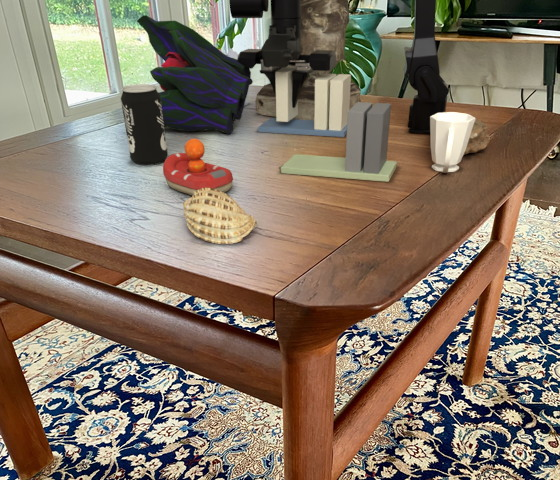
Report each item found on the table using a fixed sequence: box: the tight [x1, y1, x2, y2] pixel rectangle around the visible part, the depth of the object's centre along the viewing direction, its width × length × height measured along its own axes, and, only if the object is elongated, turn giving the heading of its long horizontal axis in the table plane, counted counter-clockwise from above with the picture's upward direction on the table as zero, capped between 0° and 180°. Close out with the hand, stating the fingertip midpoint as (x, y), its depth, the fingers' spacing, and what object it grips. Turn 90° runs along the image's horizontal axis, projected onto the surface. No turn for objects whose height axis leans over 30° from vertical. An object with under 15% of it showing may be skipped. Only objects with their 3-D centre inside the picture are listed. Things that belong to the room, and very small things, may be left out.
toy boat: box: [162, 138, 234, 197], centre depth 89 cm, size 8×12×8 cm, turn 47°
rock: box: [464, 117, 491, 155], centre depth 104 cm, size 13×11×5 cm
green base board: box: [280, 101, 398, 183], centre depth 94 cm, size 18×8×10 cm, turn 72°
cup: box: [429, 111, 476, 174], centre depth 94 cm, size 7×10×8 cm
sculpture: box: [254, 0, 362, 120], centre depth 124 cm, size 19×17×30 cm
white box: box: [275, 65, 298, 122], centre depth 117 cm, size 2×7×9 cm, turn 162°
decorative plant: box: [136, 14, 254, 135], centre depth 118 cm, size 21×26×30 cm
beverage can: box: [120, 83, 169, 166], centre depth 100 cm, size 7×7×12 cm
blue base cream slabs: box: [257, 73, 352, 138], centre depth 117 cm, size 18×8×10 cm, turn 72°
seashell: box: [182, 188, 258, 245], centre depth 76 cm, size 8×6×10 cm
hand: (287, 107), depth 118 cm, fingers closed on white box, 2 cm apart
